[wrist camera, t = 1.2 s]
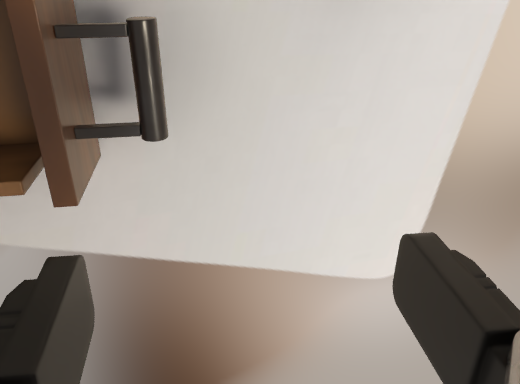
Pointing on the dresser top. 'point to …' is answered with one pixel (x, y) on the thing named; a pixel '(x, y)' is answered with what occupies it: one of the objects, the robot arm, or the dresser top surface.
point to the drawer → (65, 96)
